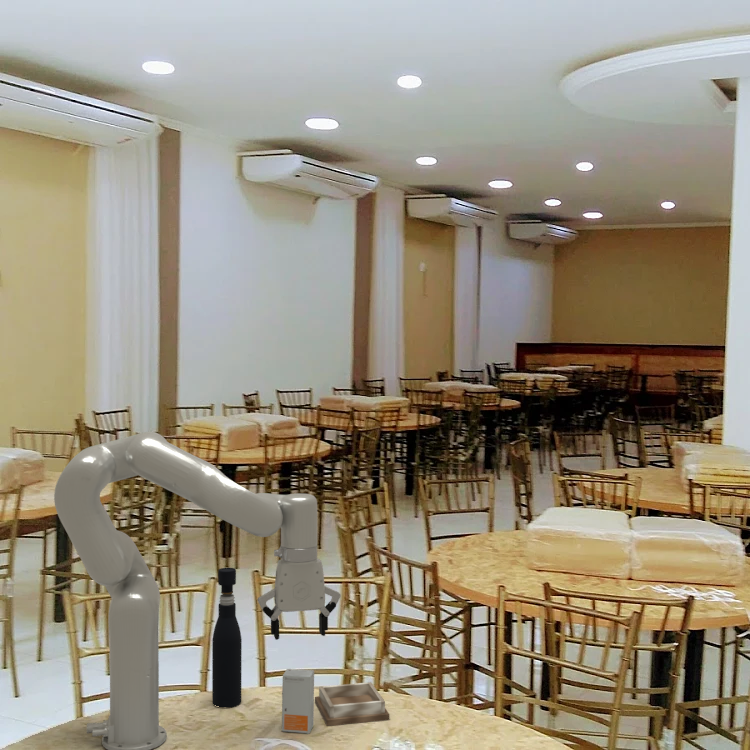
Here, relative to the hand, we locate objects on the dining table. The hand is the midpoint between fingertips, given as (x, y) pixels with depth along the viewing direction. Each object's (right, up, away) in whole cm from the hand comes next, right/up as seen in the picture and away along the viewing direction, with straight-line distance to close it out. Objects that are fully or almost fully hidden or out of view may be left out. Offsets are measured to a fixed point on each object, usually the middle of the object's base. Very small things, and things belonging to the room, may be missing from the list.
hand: (299, 635), depth 194 cm
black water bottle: (-17, -19, +15) cm, 30 cm away
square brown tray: (+10, -19, +11) cm, 24 cm away
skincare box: (0, -20, +1) cm, 20 cm away
